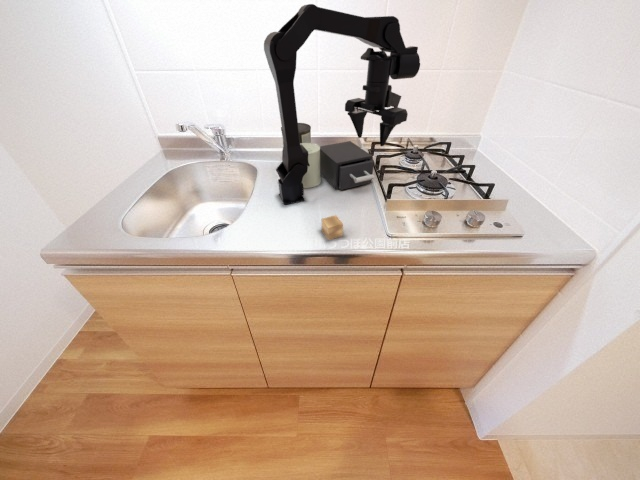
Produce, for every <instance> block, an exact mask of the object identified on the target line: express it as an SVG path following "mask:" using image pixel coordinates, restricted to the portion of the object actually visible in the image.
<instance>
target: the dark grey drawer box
mask: <svg viewBox="0 0 640 480" xmlns="http://www.w3.org/2000/svg"><path fill="white" fill-rule="evenodd" d="M319 146H320V176H321V177H323V178H324V179H325V180H326V181H327V182H328V183H329V185H331V187H333V189H334V190H340V189H339V185H338V170H339V165H341V164H346V163H351V162H356V161H361V160H365V159H368V161H370V160H373V155H372V154H370V152H368V151H366V150H364V149H363V148H362V147H360V146H359V145H357V144H355V143H354V142H352V141H351V140H349V141H342V142H336V143H331V144H325V145H319Z"/></svg>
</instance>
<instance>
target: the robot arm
mask: <svg viewBox="0 0 640 480" xmlns="http://www.w3.org/2000/svg"><path fill="white" fill-rule="evenodd" d="M314 31H318V32H323V33H328V34H334V35H339V36H343V37H344V36H345V37H350V38H354V39H357V40H359V41H360V42H361V43H364V44H366V45H368V46H369V47H367V48H366V50H365V52H364V53H362V55H361V56H360V60H362V61H366V62H367V72H366V83H365V84H364V85H362V91H365V93H364V98H361V97H355V98H351V99H347V100H346V102H345V104H344V111H345V112H347V115H348V116H349V118H350V120H351V122H352V125H353V127H354V130H355V132H356V135H357V137H358V139H361V138H362V137H363V132H364V124H365V118H366V116H367V115H368V113H369V114H372V115H375V116H380V120H381V121H382V122H379V145H380V147H384V146H385V144H386V142H387V141H388V139H389V137H390V134H392V132H393V130H394V129H395V127H396V126H397V125H400V124H402V123H404V122H407V120H408V115H409V114H408V110H407V109H406V108H402V107H399V105H400V102H401V99H402V95H400V94H398V93H396V92H393V91H392V89H393V87H392V85H391V84H390V78H391V80H405V79H413V78H415V77H416V76H417V75H418V73H419V71H420V67H421V59H420V55H419V53H418V50H419V47H418V46H413V45H412V46H407V47H406V45H405V41H404V38H403V36H402V33H401V25H400V21H399V19H398V17H397V16H394V15H388V16H387V15H385V16H365V17H364V16H361V15H355V14H351V13H346V12H342V11H338V10H333V9H328V8H324V7H319V6H318V5H315V4H313V3H308V4H304V5H302V6H301V7H300V8H299V9H298V11H297V12H296V13H295V15H293V16H292V17H291V18H290V19H289V20H288V21H286V22H285V23H284V24H283V25H282V26H281V28H279V30H278V31H272V32H270V33H269V34H268V35H267V36H266V37H265V39H264V42H263V52H264V55H265V58H266V60H267V65H268V68H269V70H270V73H271V76H272V78H273V82H274V86H275V91H276V98H277V104H278V111H279V117H280V124H281V125H280V126H281V127H282V131H281V133H282V132H283V138H284V145H283V144H282V145H283V146H282V151H281V154H282V156H281V162H280V164H279V165H278V166H277V168H276V169H275V171H276V173H277V175H278V177H279V179H277V184H278V190H279V193H278V197H279V199H280V200H281V202H282V204H283V205H284V206H287V205H292V204H296V203H301V202H303V201H305V197H304V195H305V193H304V188H303V183H302V179H303V176H304V175H305V174H306V173H307V170H308V166H310V165H309V162H308V151H307V150H306V149H305V147H304V146H303V145H302V144H301V145H300V139H299V130H298V123H299V122H298V112H297V103H296V93H295V85H294V81H295V76H296V70H297V56H298V55H297V53H298V51H299V50H300V49H301V48H302V47H303V46H304V44H306V42H307V40H308V39H309V37H310V36H311V34H312V33H313V32H314ZM374 48H378V49H379V50H378V51H377V50H376V51H375V50H374ZM387 53H390V54H389V55H388V54H387ZM283 138H282V139H283Z"/></svg>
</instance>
